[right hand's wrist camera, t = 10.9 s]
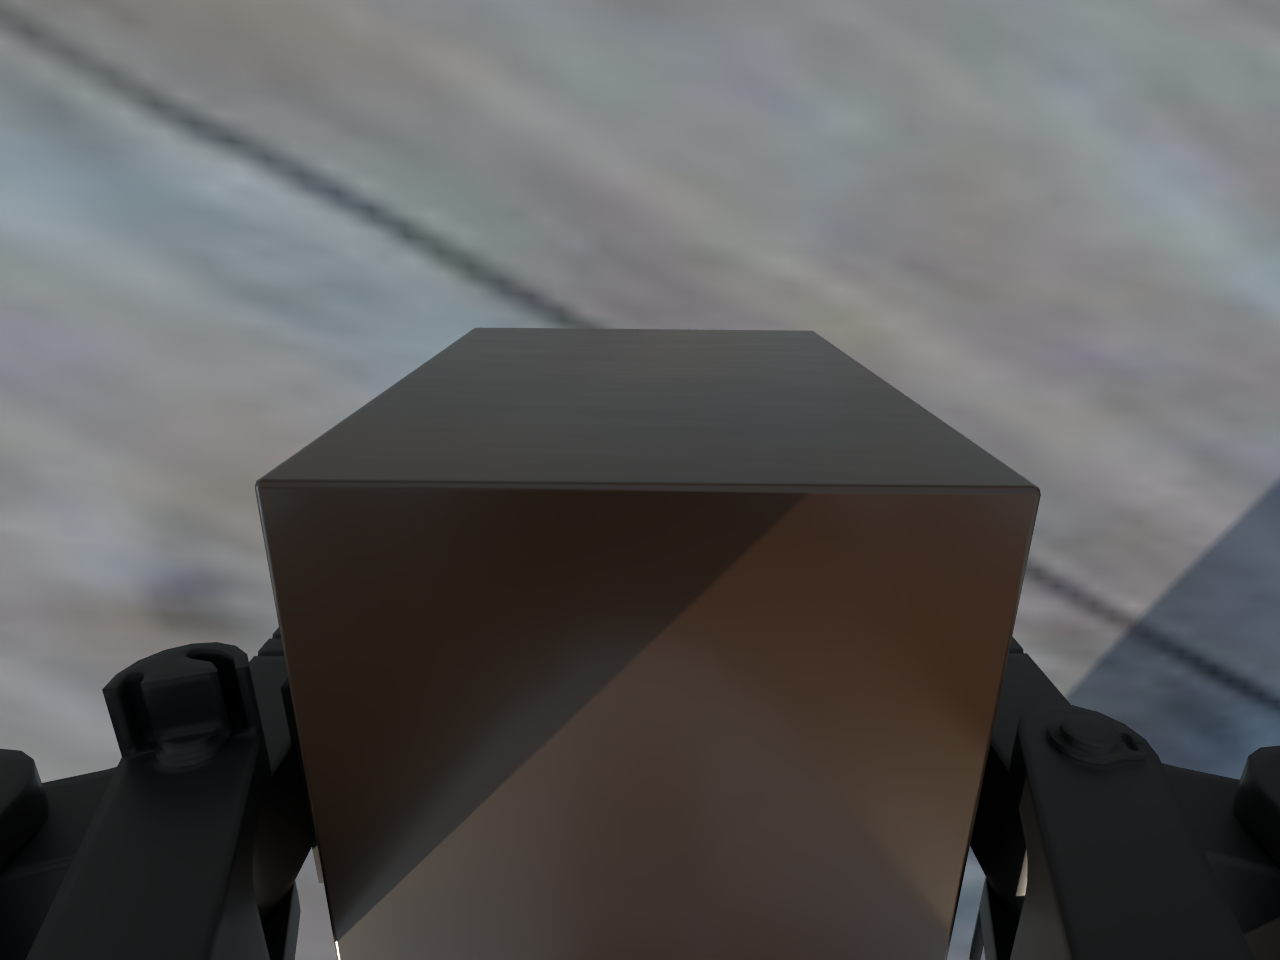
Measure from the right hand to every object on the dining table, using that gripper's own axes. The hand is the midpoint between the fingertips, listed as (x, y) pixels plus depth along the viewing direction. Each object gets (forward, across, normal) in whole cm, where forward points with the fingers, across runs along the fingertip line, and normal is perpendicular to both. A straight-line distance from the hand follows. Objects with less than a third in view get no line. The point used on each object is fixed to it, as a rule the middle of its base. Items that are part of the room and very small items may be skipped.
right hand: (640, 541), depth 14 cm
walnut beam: (0, 0, -12) cm, 12 cm away
